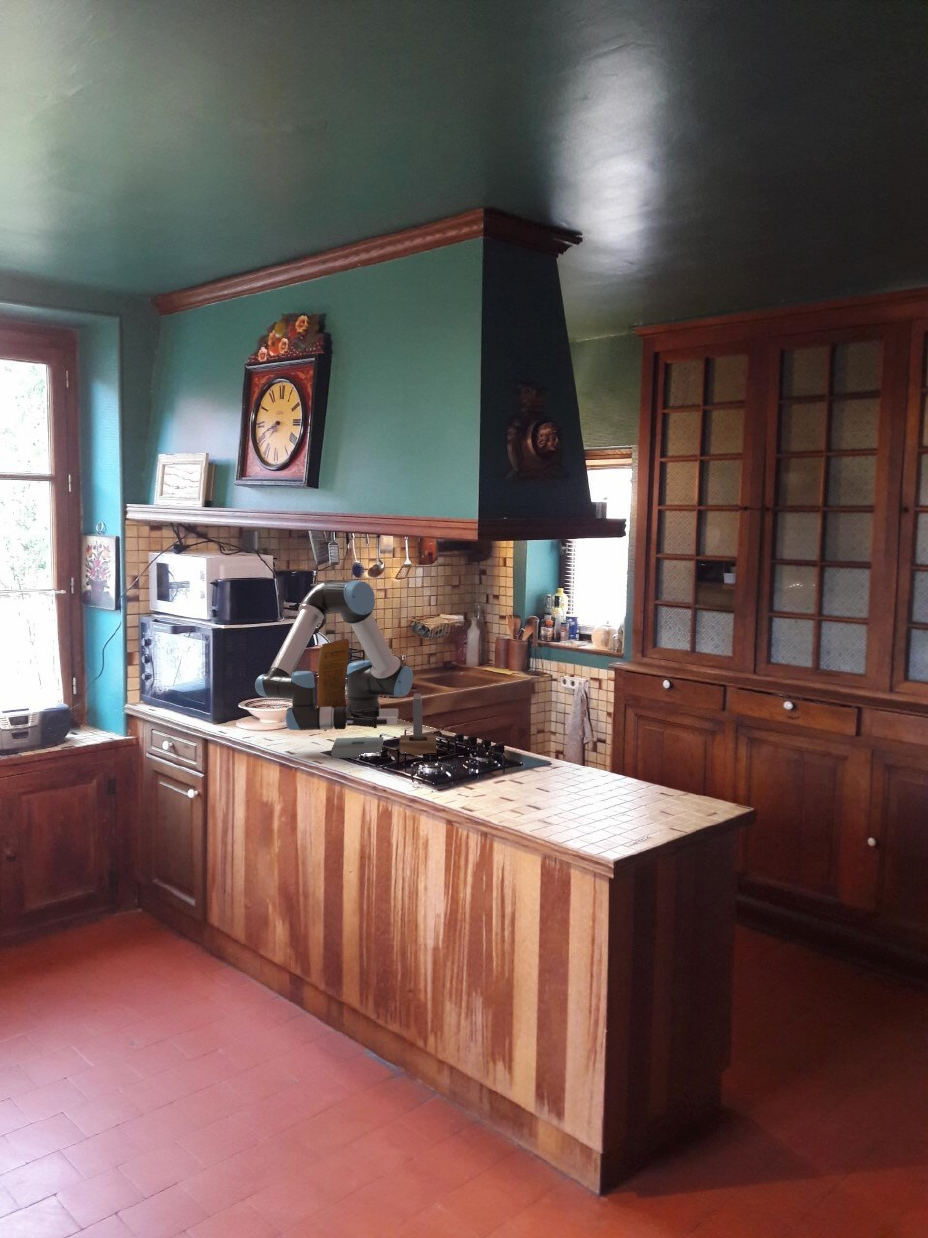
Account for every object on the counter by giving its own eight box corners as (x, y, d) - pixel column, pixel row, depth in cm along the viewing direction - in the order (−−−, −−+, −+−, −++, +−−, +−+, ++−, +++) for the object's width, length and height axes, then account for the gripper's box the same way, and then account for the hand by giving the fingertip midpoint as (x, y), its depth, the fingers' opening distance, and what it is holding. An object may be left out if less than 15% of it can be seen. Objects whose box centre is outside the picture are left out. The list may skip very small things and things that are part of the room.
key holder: (400, 746, 338) (400, 735, 338) (436, 746, 338) (436, 734, 338) (399, 755, 326) (399, 743, 326) (436, 754, 327) (436, 742, 326)
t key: (414, 747, 337) (413, 693, 335) (422, 747, 337) (422, 693, 336) (413, 754, 327) (412, 699, 325) (422, 754, 327) (421, 698, 326)
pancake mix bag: (356, 705, 415) (354, 638, 412) (322, 712, 400) (321, 643, 397) (344, 703, 419) (342, 637, 416) (311, 711, 404) (309, 642, 401)
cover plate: (336, 746, 340) (336, 738, 339) (383, 745, 340) (383, 737, 340) (331, 757, 324) (331, 748, 323) (381, 756, 324) (380, 747, 324)
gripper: (337, 721, 343) (399, 720, 344) (330, 737, 318) (396, 736, 319) (336, 700, 342) (398, 699, 343) (329, 714, 317) (396, 713, 318)
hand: (397, 716), depth 331 cm, fingers open, 13 cm apart
